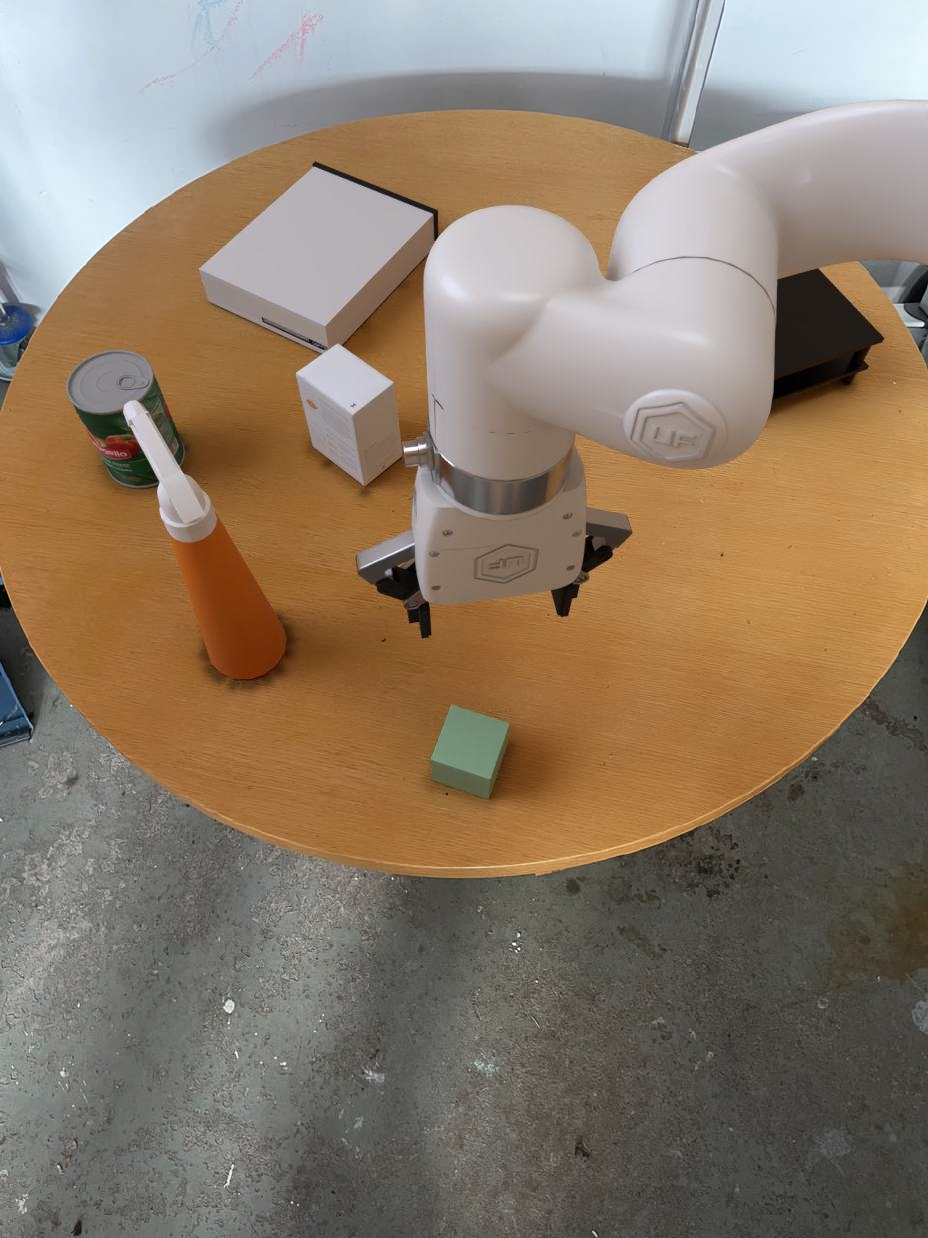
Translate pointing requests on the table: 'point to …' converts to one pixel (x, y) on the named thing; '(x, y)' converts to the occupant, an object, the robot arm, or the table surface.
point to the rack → (817, 335)
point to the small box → (351, 413)
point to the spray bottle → (211, 566)
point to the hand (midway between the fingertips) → (491, 609)
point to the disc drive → (321, 257)
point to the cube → (469, 751)
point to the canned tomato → (121, 412)
